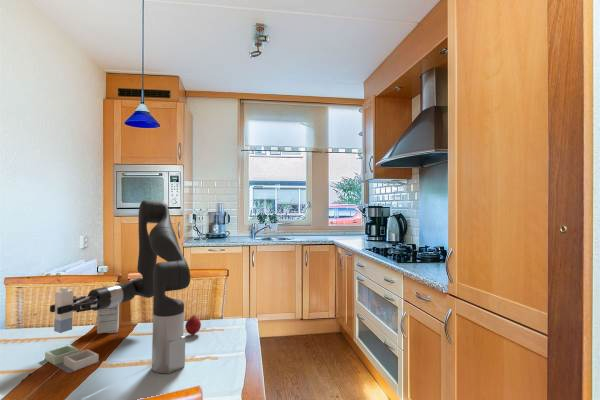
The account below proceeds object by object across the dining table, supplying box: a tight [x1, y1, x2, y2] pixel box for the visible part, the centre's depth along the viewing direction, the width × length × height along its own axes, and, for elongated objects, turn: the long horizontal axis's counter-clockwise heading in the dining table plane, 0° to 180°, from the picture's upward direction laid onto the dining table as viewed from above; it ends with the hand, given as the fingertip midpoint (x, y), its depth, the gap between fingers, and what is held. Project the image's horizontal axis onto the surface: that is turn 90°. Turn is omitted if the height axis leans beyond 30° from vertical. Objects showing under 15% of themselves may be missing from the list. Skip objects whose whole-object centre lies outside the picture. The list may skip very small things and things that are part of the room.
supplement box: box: [96, 303, 120, 334], centre depth 135 cm, size 7×7×13 cm
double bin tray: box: [44, 344, 100, 374], centre depth 107 cm, size 17×9×3 cm, turn 58°
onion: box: [184, 314, 202, 336], centre depth 132 cm, size 6×6×8 cm
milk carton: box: [53, 286, 74, 334], centre depth 110 cm, size 4×4×14 cm
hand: (54, 310), depth 107 cm, fingers closed on milk carton, 3 cm apart
